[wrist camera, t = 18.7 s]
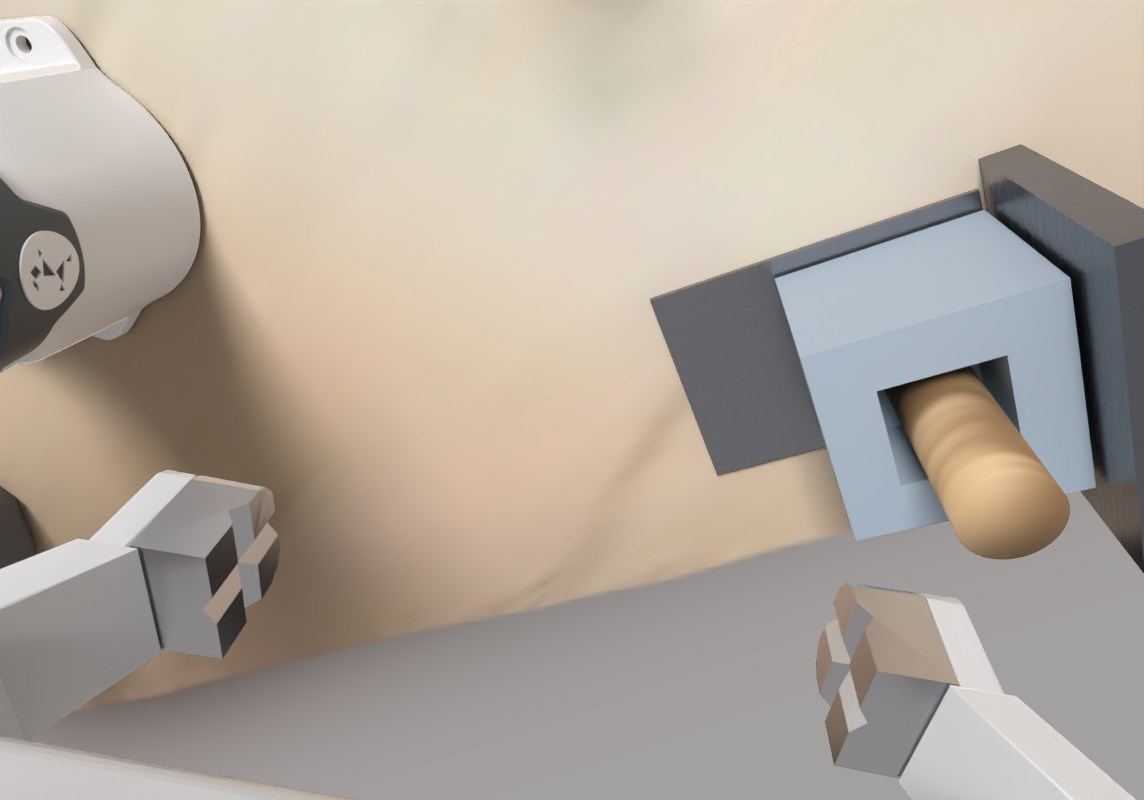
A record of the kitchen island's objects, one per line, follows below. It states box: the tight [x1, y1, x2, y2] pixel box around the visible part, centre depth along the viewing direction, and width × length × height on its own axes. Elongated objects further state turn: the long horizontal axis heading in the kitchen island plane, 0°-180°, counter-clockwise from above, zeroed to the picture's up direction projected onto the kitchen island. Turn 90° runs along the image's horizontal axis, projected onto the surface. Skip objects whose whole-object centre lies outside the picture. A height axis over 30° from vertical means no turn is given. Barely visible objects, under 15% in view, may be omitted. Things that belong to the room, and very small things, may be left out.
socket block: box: [775, 210, 1096, 541], centre depth 39 cm, size 11×11×10 cm
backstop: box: [650, 145, 1144, 573], centre depth 39 cm, size 20×16×14 cm
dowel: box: [884, 366, 1070, 559], centre depth 34 cm, size 4×4×12 cm
